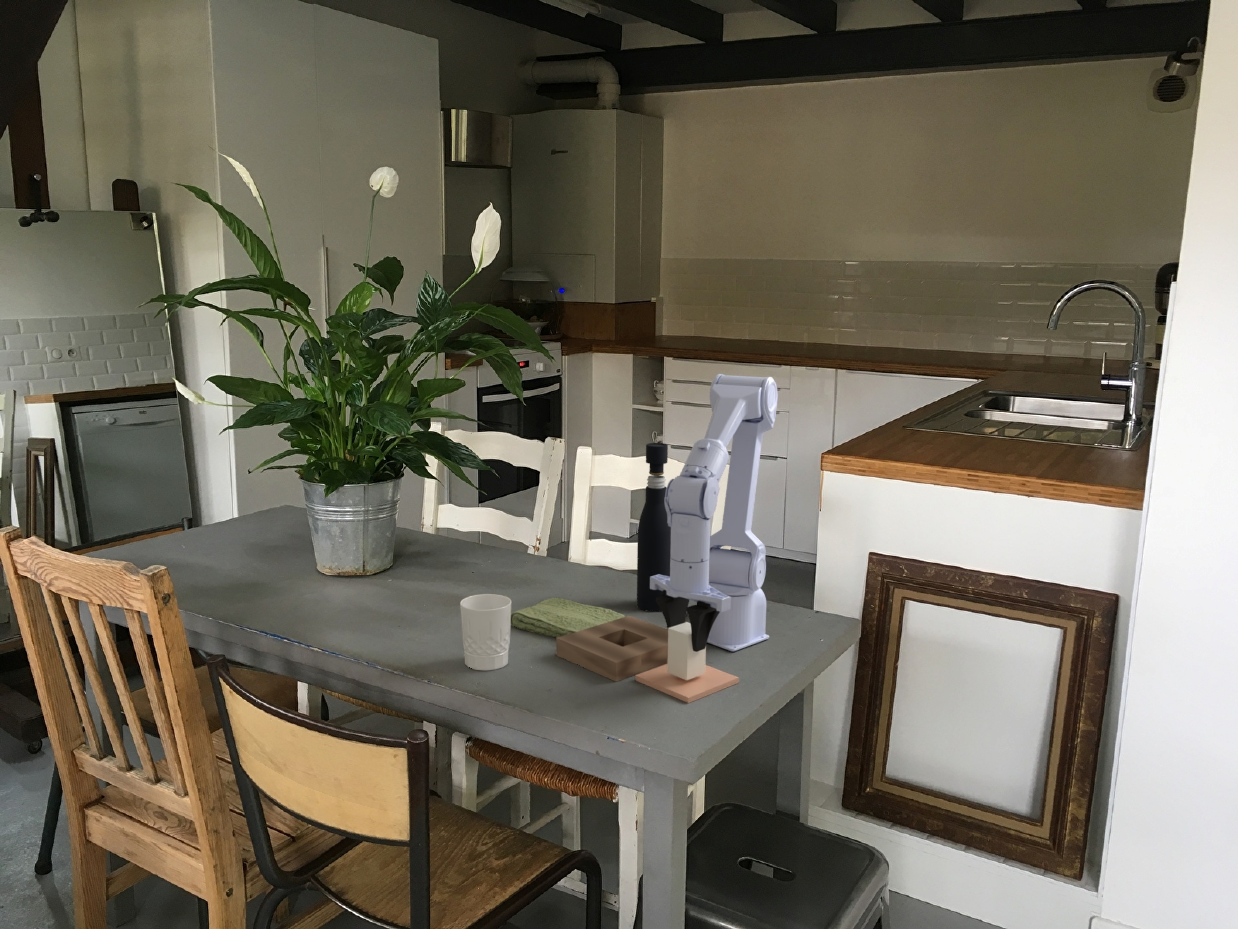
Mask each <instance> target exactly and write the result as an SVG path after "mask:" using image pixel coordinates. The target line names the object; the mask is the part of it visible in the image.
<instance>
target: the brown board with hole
mask: <svg viewBox="0 0 1238 929" xmlns="http://www.w3.org/2000/svg"><path fill="white" fill-rule="evenodd" d="M555 638H556V643H555V644H556V649H555V650H556V657H558V658H561V659H563V658H564V659H563V660H565V659H566V660H565V661H568V662H570V663H572V664H574V665H577V664H578V665H577V666H579V665H580V666H579V667H580V668H583V667H584V669H586V670H588V671H591V672H593V673H595V674H597V675H600V676H602V677H604V678H607V679H609V680H611V681H613V682H619V681H623V680H625V679H628V678H631V677H633V676H634V677H635V675H637V674H640V673H643V672H646V671H649V670H651V669H654V668H657V667H660V666H662V665H665V664H668V628H664V627H662V626H658V625H657V624H653V623H651V622H648V621H645V620H643V619H640V618H637V617H634V616H631V615H626V616H625V617H623V618H620V619H617V620H613V621H610V622H607V623H604V624H600V625H597V626H594V627H590V628H587V629H584V630H581V631H577V632H574V633H571V634H568V635H564V636H561V637H558V638H557V637H555Z"/></svg>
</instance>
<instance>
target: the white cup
mask: <svg viewBox="0 0 1238 929" xmlns="http://www.w3.org/2000/svg"><path fill="white" fill-rule="evenodd" d="M459 606H460V607H459V609H460V621H461V622H460V623H461V635H462V646H463V649H464V651H463V654H464V665H465V666H467V668H469V667H470V669H471V668H472V670H474V671H475V670H476V671H495V670H499V669H501V668H504V667H505V666H506V665H508V663H509V648H510V646H511V645H510V644H511V642H510V640H511V627H512V625H511V615H512V599H511V598H510V597H508V596H506V595H502V594H493V593H483V594H482V593H480V594H474V595H470V596H466V597H464V598H463V599H461V601H460V602H459Z"/></svg>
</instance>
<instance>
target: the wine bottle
mask: <svg viewBox="0 0 1238 929" xmlns="http://www.w3.org/2000/svg"><path fill="white" fill-rule="evenodd" d="M668 449H669V446H668V443H663V442H650V443H646V444H645V463H646V464H648V465H649V471H648V473H649V475H647V479H646V481H647V482H646V487H645V502H644V505H643V509H642V511H641V514H640V517H639V521H638V525H637V526H638V528H637V549H636V550H637V551H636V552H637V555H636V556H637V557H636V558H637V560H636V561H637V563H636V564H637V568H636V606H638V607H637V608H638V609H640V610H642V609H643V610H642V611H645V610H647V612H654V611H656V612H662V611H661V609H660V607H659V606H658V604H657V603H656V598H657V597H659V596H662V594H663V591H661V590H658V589H657V590H653V589H650V577H651V576H654V575H658V574H660V575H664V576H669V577H670V553H671V527H670V526H668V523H667V522H668V516H667V512H666V509H665V500H664V499H665V493H666V488H667V486H666V484H667V483H666V478H665V475H664V473H665V470H664V468H665V467H664V465H665V464H667V463H668V460H669V459H668V453H669V450H668Z"/></svg>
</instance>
